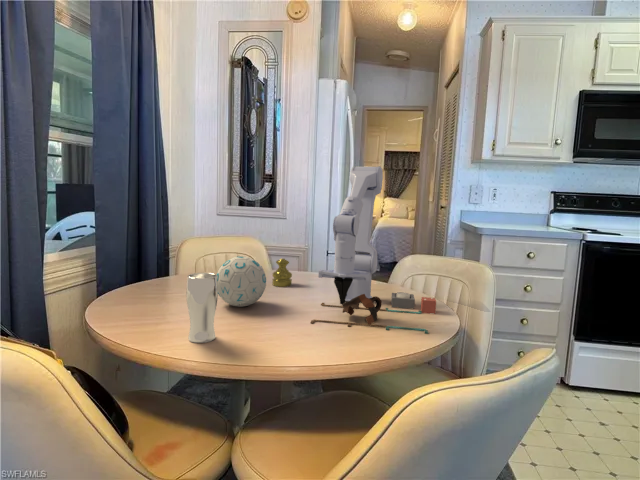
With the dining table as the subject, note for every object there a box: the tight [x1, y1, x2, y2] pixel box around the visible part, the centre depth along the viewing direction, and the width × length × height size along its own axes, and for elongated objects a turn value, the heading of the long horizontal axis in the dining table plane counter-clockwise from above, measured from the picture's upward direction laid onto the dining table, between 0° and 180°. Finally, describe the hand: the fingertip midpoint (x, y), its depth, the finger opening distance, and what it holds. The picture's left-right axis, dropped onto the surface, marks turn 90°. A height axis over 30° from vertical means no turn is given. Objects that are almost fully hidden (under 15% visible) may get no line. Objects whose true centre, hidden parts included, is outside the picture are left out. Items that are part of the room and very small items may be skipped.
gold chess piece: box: [271, 258, 293, 288], centre depth 153 cm, size 7×7×10 cm
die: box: [420, 296, 437, 315], centre depth 125 cm, size 4×4×4 cm
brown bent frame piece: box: [341, 294, 383, 324], centre depth 115 cm, size 12×10×8 cm
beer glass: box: [185, 272, 219, 344], centre depth 95 cm, size 7×7×15 cm
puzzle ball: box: [216, 255, 267, 308], centre depth 123 cm, size 15×15×15 cm
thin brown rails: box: [310, 302, 429, 335], centre depth 117 cm, size 31×21×1 cm
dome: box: [395, 291, 411, 298], centre depth 131 cm, size 4×4×3 cm
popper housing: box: [390, 292, 416, 310], centre depth 131 cm, size 7×7×3 cm
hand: (342, 303), depth 118 cm, fingers closed
